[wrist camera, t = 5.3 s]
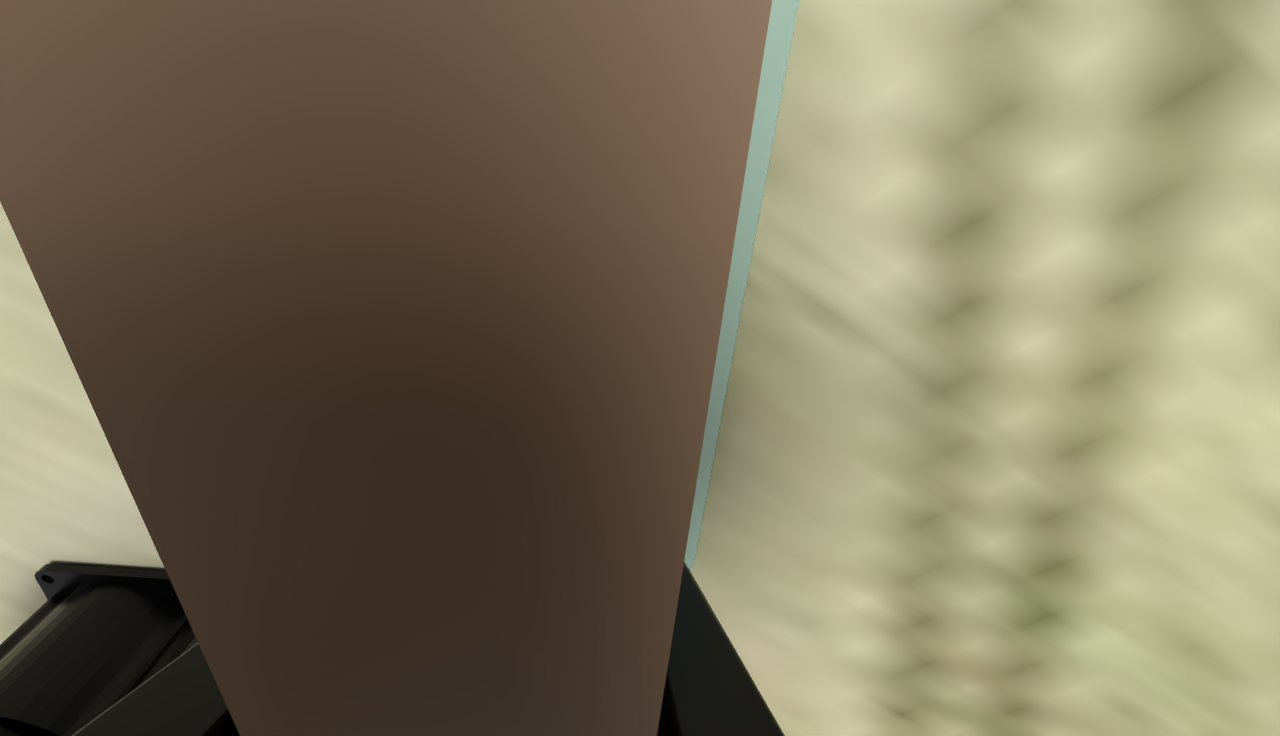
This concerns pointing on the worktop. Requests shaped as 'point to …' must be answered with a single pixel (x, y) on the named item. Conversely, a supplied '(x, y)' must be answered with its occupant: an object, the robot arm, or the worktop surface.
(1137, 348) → the worktop surface
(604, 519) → the rail
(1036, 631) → the worktop surface
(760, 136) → the mat
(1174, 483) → the worktop surface
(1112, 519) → the worktop surface
